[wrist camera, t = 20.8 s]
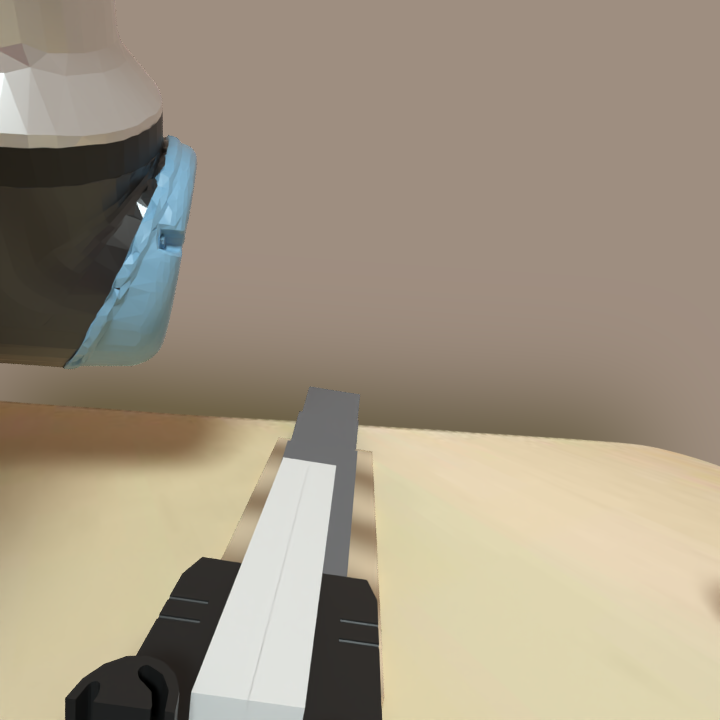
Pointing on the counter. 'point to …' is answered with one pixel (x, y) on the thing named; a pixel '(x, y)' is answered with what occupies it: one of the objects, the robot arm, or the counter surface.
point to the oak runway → (362, 525)
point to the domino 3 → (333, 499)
